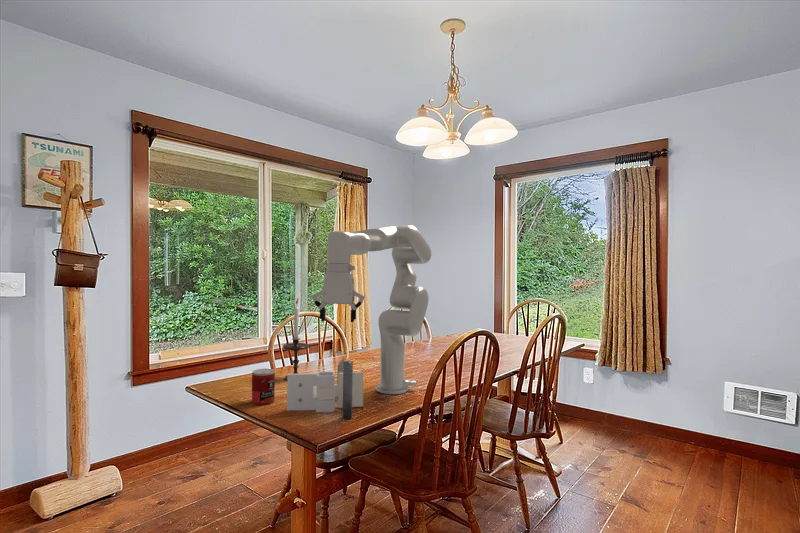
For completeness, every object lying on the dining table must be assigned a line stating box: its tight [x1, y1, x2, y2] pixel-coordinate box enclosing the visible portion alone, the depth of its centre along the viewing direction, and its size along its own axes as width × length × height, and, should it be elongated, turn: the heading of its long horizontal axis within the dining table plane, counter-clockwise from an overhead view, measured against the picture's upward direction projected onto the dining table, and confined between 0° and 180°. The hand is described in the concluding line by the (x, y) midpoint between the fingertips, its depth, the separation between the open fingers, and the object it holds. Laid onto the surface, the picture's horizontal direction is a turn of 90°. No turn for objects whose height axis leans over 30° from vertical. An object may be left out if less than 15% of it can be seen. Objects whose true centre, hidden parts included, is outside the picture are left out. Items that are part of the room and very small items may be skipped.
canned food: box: [251, 368, 276, 406], centre depth 151 cm, size 8×8×11 cm
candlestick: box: [282, 298, 310, 382], centre depth 182 cm, size 11×11×35 cm
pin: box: [341, 360, 354, 421], centre depth 136 cm, size 3×3×18 cm
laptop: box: [313, 355, 345, 402], centre depth 162 cm, size 18×12×13 cm
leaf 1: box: [286, 371, 336, 413], centre depth 143 cm, size 16×6×12 cm, turn 96°
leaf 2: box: [317, 371, 364, 409], centre depth 145 cm, size 16×6×12 cm, turn 104°
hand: (337, 321), depth 139 cm, fingers open, 9 cm apart
